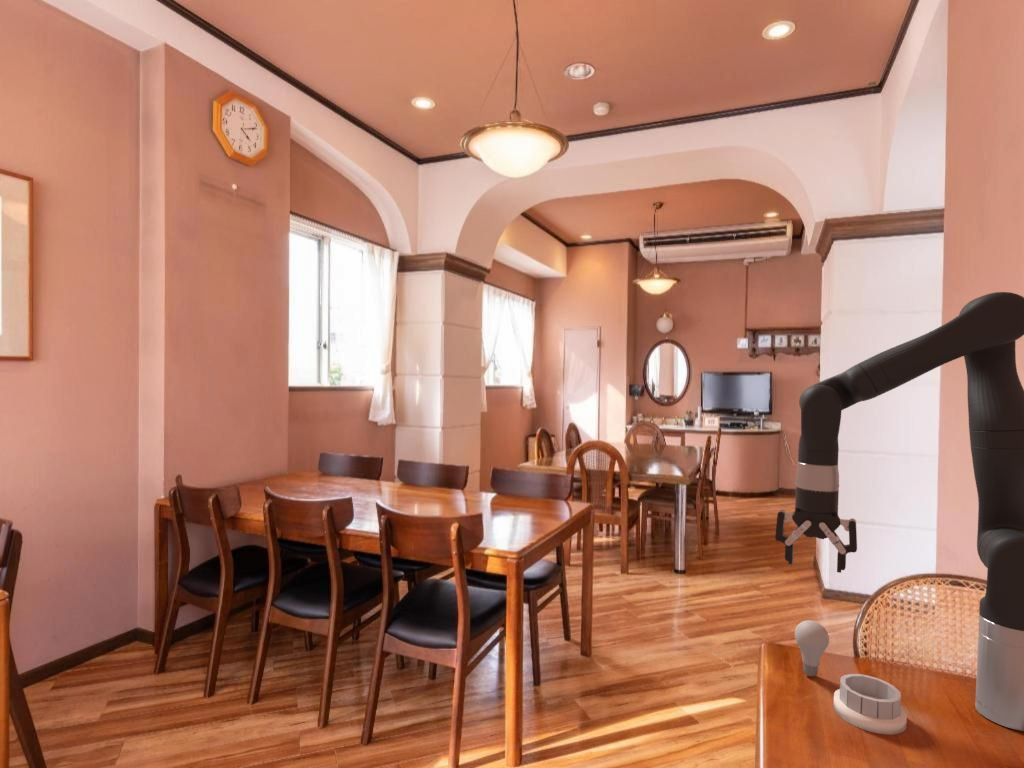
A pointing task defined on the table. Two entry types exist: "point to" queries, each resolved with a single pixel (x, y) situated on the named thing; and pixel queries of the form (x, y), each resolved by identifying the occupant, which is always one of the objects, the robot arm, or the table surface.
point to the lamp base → (870, 721)
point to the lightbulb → (811, 644)
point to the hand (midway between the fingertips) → (814, 567)
